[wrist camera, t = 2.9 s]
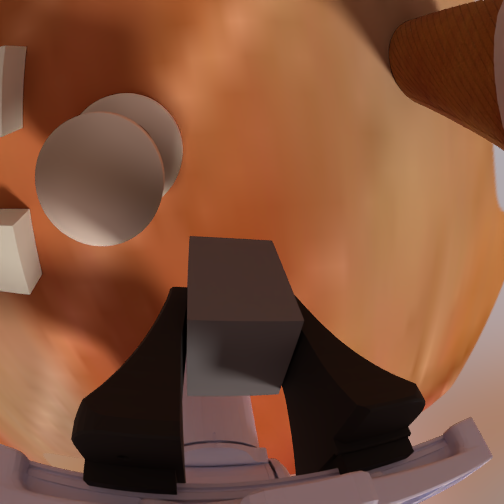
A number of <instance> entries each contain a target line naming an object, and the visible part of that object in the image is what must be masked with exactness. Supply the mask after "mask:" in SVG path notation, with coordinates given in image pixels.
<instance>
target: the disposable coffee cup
mask: <svg viewBox="0 0 504 504" xmlns="http://www.w3.org/2000/svg"><path fill="white" fill-rule="evenodd" d="M389 59H390V66H391V70H392V73H393V76H394V78H395V80H396V83H397V84H398V86H399V87H400V89H401V90H402V91H403V92H404V94H405V95H406V96H407V97H409V98H410V99H411V100H413V101H414V102H416V103H418V104H421V105H423V106H425V107H427V108H429V109H431V110H433V111H435V112H438V113H440V114H441V115H444V116H445V117H447V118H449V119H451V120H453V121H454V122H456V123H458V124H460V125H462V126H463V127H465V128H468V129H470V130H471V131H473V132H475V133H476V134H478V135H480V136H482V137H483V138H485V139H487V140H488V141H490V142H491V143H493V144H495V145H496V146H498V147H499V148H501V149H502V150H504V0H484V1H483V0H479V1H476V2H470V3H468V4H463V5H461V6H460V5H459V6H456V7H451V8H448V9H444V10H441V11H438V12H435V13H431V14H428V15H425V16H422V17H419V18H416V19H413V20H409V21H406V22H404V23H403V24H402V25H400V26H399V27H398V28H397V30H396V31H395V32H394V34H393V37H392V39H391V43H390V47H389Z"/></svg>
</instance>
